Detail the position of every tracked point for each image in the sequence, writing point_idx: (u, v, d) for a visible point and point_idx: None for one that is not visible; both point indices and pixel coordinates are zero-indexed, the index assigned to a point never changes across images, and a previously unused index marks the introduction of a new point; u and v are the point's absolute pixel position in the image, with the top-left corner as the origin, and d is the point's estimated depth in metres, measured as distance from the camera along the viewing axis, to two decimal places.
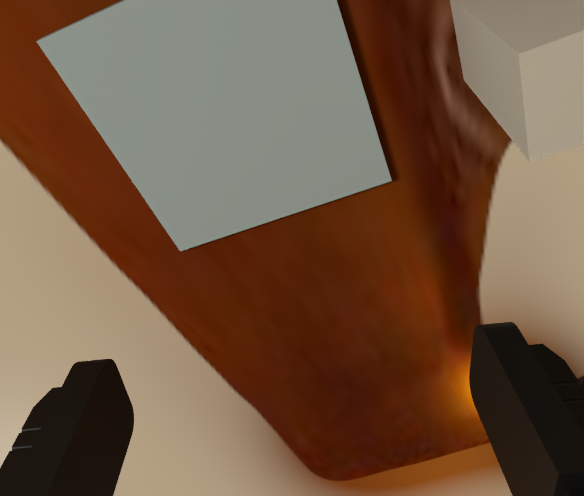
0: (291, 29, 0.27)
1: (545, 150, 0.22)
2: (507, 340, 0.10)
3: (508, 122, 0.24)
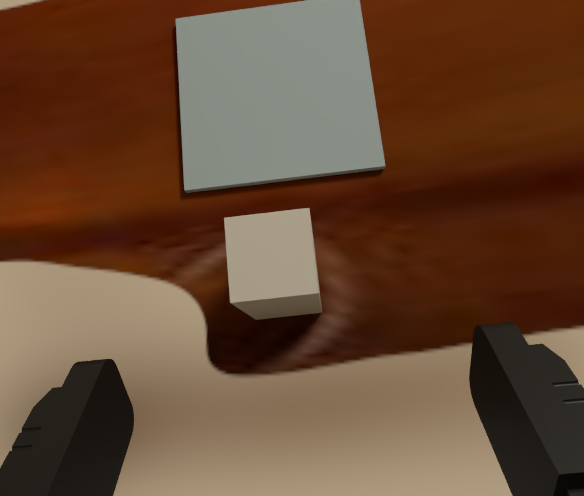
0: (323, 141, 0.40)
1: (230, 229, 0.29)
2: (507, 340, 0.10)
3: None
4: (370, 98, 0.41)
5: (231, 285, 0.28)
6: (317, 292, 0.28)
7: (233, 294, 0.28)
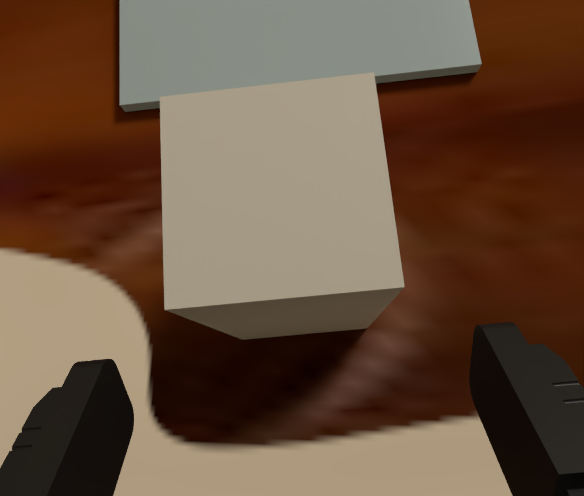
0: (367, 22, 0.23)
1: (173, 122, 0.12)
2: (507, 340, 0.10)
3: None
4: None
5: (170, 263, 0.11)
6: (400, 285, 0.10)
7: (174, 287, 0.11)
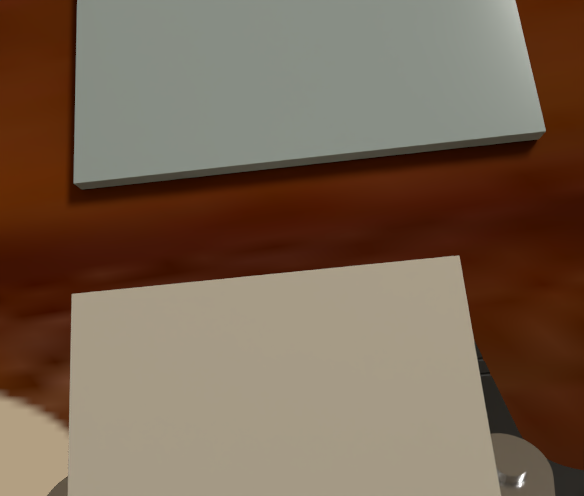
0: (395, 74, 0.17)
1: (94, 347, 0.06)
2: None
3: None
4: None
5: None
6: None
7: None
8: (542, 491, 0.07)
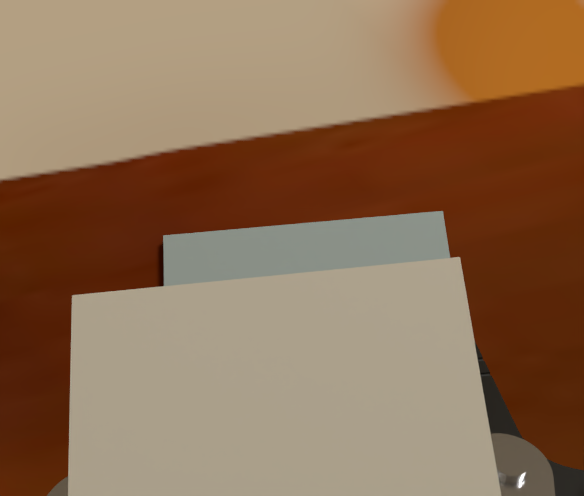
0: None
1: (93, 349, 0.06)
2: None
3: None
4: None
5: None
6: None
7: None
8: (542, 491, 0.07)
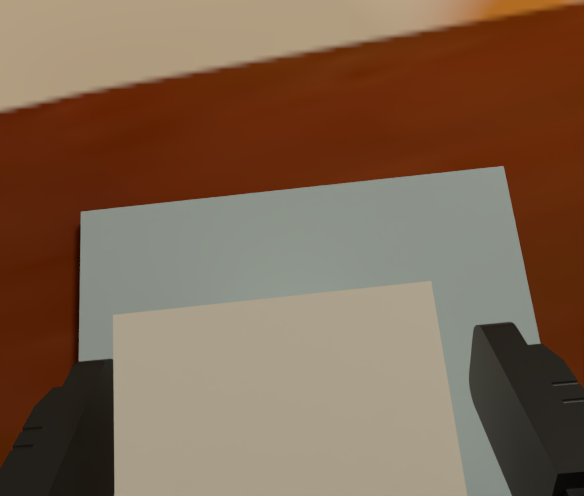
0: None
1: (132, 359, 0.08)
2: (506, 340, 0.10)
3: None
4: None
5: None
6: None
7: None
8: None
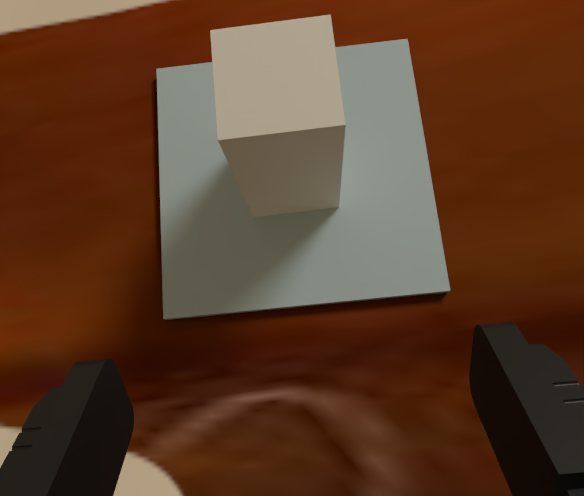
0: (360, 250, 0.28)
1: (218, 44, 0.21)
2: (507, 340, 0.10)
3: None
4: (427, 189, 0.29)
5: (219, 117, 0.20)
6: (343, 124, 0.19)
7: (222, 129, 0.20)
8: None
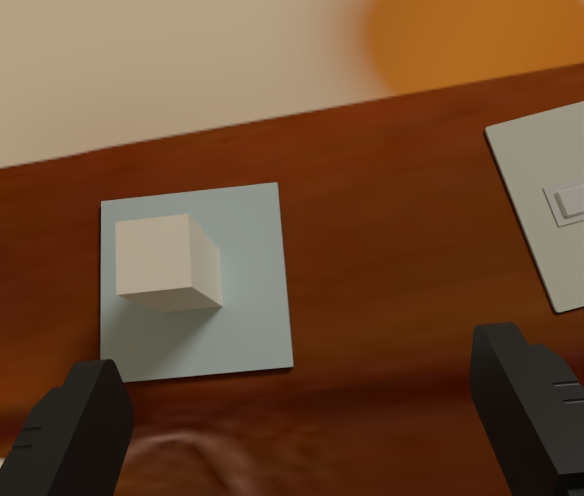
0: (235, 337, 0.41)
1: (119, 231, 0.34)
2: (507, 340, 0.10)
3: None
4: (282, 294, 0.42)
5: (118, 280, 0.33)
6: (190, 286, 0.32)
7: (119, 287, 0.33)
8: None
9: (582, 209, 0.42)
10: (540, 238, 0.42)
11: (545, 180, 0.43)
